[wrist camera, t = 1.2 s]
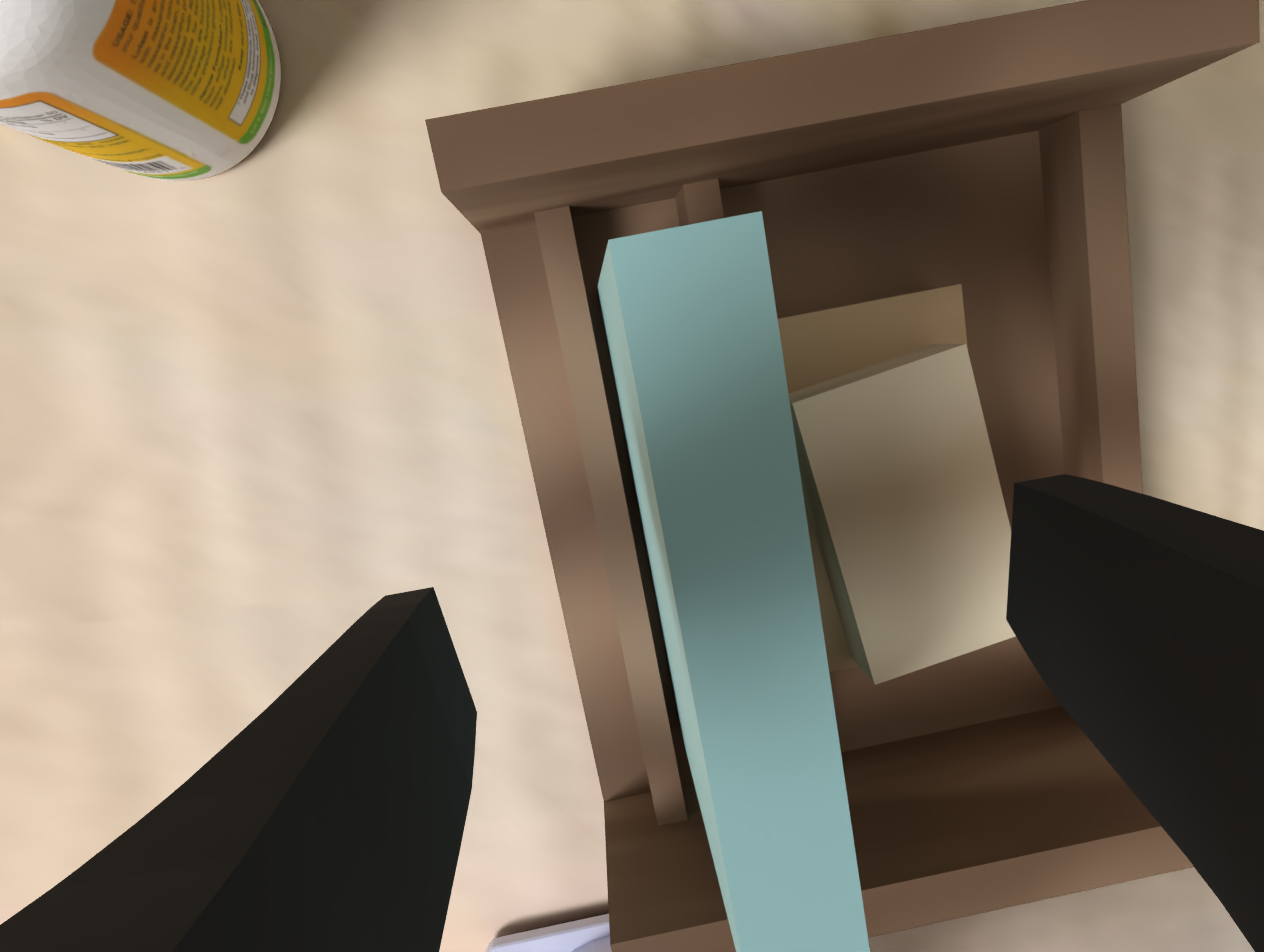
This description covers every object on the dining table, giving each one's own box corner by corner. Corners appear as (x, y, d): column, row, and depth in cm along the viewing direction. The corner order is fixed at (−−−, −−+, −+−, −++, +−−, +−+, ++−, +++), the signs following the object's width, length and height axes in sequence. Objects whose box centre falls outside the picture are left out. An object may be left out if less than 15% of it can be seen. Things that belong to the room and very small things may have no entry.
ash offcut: (999, 606, 19) (1035, 629, 17) (851, 657, 19) (874, 684, 17) (933, 343, 17) (966, 343, 16) (774, 398, 17) (791, 403, 16)
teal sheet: (750, 712, 20) (875, 992, 12) (679, 726, 20) (752, 1018, 12) (675, 274, 18) (761, 211, 9) (596, 289, 18) (608, 239, 9)
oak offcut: (966, 616, 20) (996, 638, 19) (791, 652, 20) (807, 676, 19) (931, 288, 19) (961, 283, 17) (740, 325, 19) (753, 323, 17)
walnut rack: (1094, 715, 22) (1277, 848, 16) (610, 816, 22) (620, 991, 16) (1048, 85, 19) (1258, -31, 13) (475, 190, 19) (425, 120, 13)
